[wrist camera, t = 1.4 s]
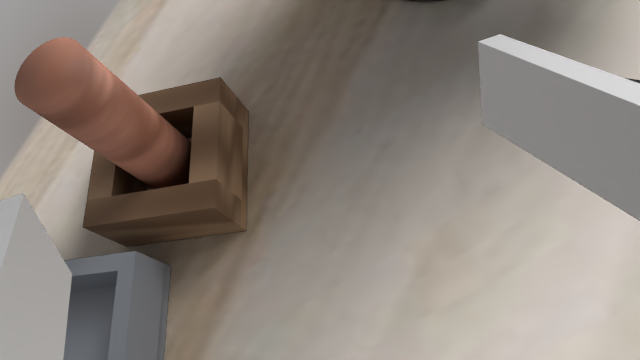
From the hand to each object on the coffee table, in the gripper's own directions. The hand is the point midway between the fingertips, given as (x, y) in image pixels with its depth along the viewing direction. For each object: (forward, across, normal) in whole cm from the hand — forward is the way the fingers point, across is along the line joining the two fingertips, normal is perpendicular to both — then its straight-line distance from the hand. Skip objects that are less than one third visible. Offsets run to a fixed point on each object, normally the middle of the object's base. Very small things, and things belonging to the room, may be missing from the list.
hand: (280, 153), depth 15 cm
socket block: (+25, -4, -13) cm, 28 cm away
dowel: (+25, -4, -12) cm, 28 cm away
